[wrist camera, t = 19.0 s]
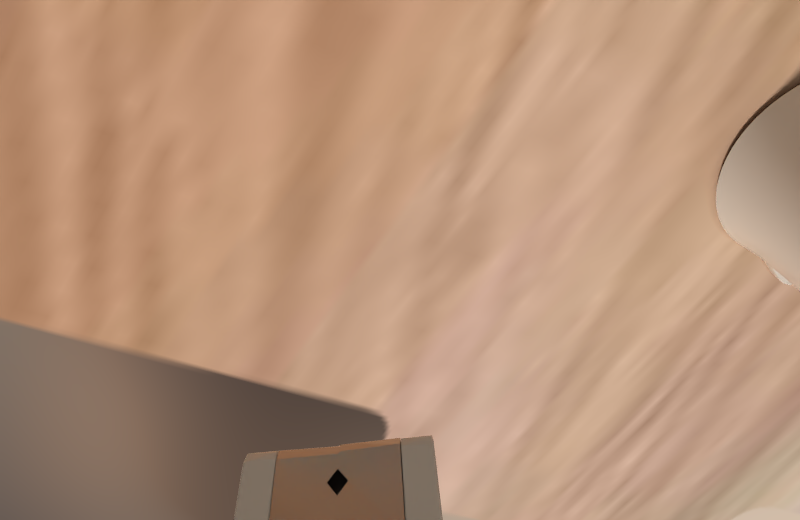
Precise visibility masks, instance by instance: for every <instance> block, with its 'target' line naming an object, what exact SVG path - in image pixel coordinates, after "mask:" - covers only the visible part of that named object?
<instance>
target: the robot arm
mask: <svg viewBox="0 0 800 520" xmlns="http://www.w3.org/2000/svg"><path fill="white" fill-rule="evenodd" d="M716 208H717V213H718V217H719V220H720V222H721V224H722V226H723V228H724V230H725V231H726V233H727V234H728V235H729V236H730V237H731V238H732V239H733V240H734V241H735V242H737V243H738V244H739V245H741V246H743V247H744V248H746V249H747V250H749V251H751V252H752V253H754V254H755V255H757V256H758V257H759V258H761V259H762V260H763V261H764V262H765V263H766V264H767V266H768V268H769V270H770V271H771V272H772V274H773V275H774V276H776V277H777V278H778V279H779V280H780V281H781V282H783V283H784V284H787V285H793V286H794V287H795V288H796V289H798V290H799V291H800V85H798V86H797V87H795V88H794V89H792V90H790V91H789V92H787V93H786V94H784V95H783V96H781V97H780V98H779V99H777V100H776V101H775V102H773V103H772V104H771V105H770V106H769V107H767V108H766V109H765V110H764V111H763V112H762V113H761V114H760V115H759V116H757V117H756V118H755V119H754V121H753V122H752V123H751V124H750V125H749V126H748V127H747V128H746V130H745V131H744V132H743V133H742V134H741V136H740V137H739V138H738V140H737V141H736V143H735V144H734V146H733V147H732V149H731V151H730V153H729V154H728V156H727V158H726V160H725V163H724V165H723V167H722V170H721V173H720V176H719V180H718V184H717V190H716ZM234 520H442V510H441V502H440V493H439V485H438V476H437V467H436V459H435V450H434V441H433V438H432V435H430V436H421V437H412V438H403V439H400V438H395V439H387V440H378V441H370V442H361V443H353V444H344V445H340V446H336V447H323V448H310V449H298V450H284V451H271V452H261V453H251V454H248V455H247V457H246V459H245V461H244V463H243V469H242V474H241V480H240V486H239V492H238V498H237V504H236V510H235V516H234Z"/></svg>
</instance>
